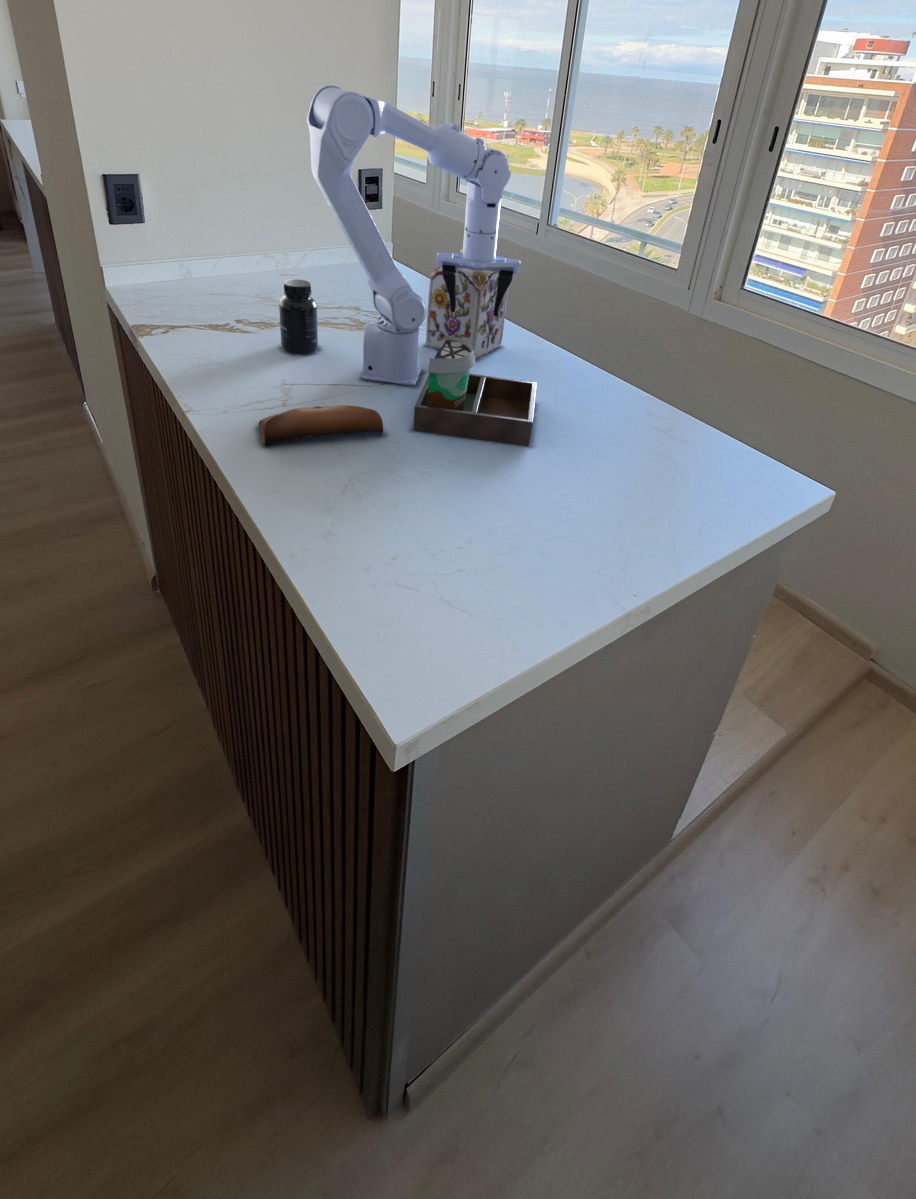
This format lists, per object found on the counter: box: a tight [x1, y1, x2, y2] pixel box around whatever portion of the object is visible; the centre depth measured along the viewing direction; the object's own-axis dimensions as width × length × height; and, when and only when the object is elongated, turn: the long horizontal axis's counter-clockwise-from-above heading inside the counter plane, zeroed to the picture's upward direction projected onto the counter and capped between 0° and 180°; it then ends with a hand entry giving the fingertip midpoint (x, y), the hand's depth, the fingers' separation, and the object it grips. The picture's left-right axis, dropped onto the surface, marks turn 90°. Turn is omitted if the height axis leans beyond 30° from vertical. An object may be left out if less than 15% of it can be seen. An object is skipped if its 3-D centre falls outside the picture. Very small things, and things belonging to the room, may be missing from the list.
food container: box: [427, 335, 476, 411], centre depth 117 cm, size 12×6×10 cm, turn 168°
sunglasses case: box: [258, 404, 384, 445], centre depth 110 cm, size 18×7×7 cm
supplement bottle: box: [278, 278, 319, 355], centre depth 134 cm, size 7×7×12 cm
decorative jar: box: [425, 248, 509, 360], centre depth 141 cm, size 12×12×18 cm
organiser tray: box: [413, 373, 537, 447], centre depth 120 cm, size 18×17×4 cm
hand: (474, 312), depth 131 cm, fingers open, 7 cm apart
